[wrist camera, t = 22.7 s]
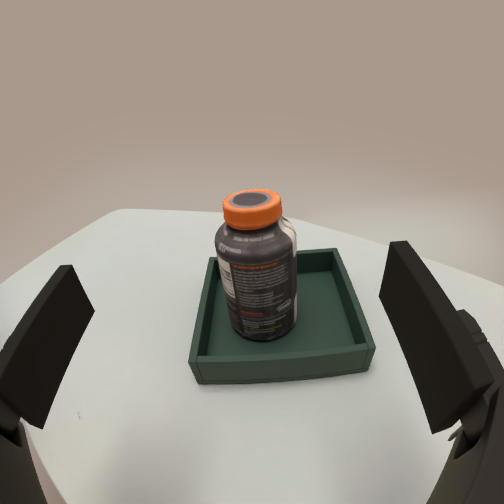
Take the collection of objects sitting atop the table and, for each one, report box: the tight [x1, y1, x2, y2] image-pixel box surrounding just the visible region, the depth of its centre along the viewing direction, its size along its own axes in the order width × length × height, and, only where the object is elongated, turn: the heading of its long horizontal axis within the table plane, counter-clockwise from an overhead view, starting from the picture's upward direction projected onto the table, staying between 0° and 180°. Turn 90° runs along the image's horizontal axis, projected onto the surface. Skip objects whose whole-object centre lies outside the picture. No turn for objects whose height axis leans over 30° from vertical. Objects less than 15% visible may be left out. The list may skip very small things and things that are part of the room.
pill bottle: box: [215, 189, 297, 341], centre depth 22 cm, size 6×6×11 cm
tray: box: [188, 248, 376, 384], centre depth 25 cm, size 13×13×3 cm
